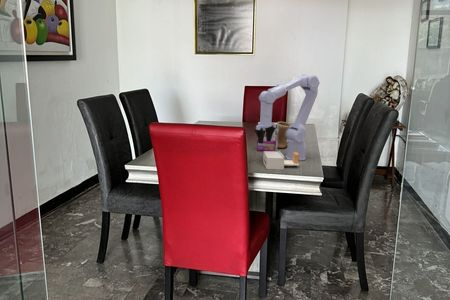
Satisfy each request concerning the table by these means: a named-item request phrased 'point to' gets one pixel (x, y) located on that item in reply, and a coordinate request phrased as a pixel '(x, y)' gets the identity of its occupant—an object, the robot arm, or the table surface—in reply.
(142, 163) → the table surface
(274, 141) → the candy bar box
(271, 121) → the robot arm
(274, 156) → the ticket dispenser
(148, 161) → the table surface
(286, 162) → the cream slab with block
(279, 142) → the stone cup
